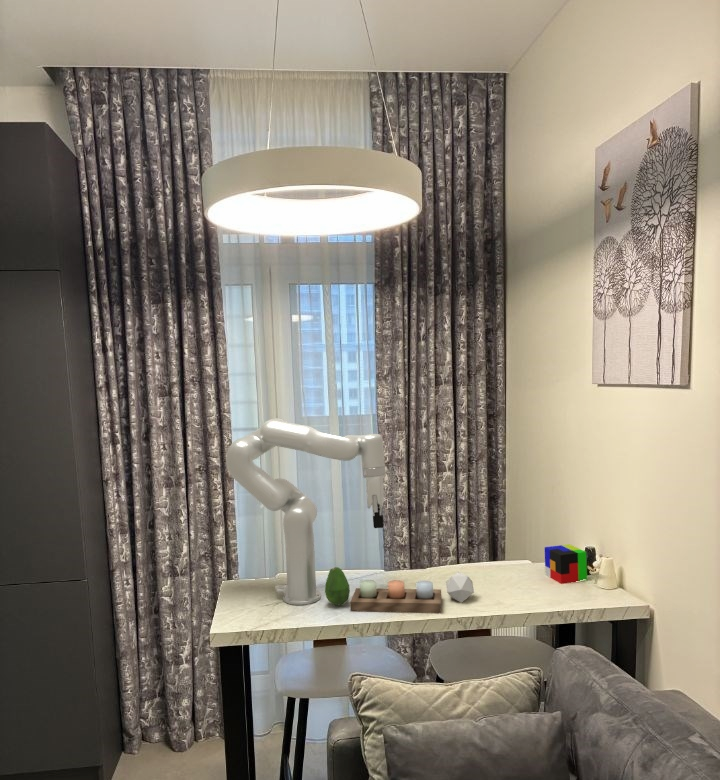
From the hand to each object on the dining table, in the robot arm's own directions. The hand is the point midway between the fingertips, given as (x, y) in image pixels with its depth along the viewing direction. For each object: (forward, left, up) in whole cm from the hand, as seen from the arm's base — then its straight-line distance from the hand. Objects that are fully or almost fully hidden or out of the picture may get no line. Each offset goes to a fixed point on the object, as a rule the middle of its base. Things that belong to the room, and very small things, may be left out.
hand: (378, 527), depth 194 cm
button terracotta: (+6, -6, -20) cm, 22 cm away
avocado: (-13, -7, -24) cm, 28 cm away
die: (+26, 0, -24) cm, 35 cm away
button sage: (-3, -6, -20) cm, 21 cm away
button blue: (+15, -6, -20) cm, 26 cm away
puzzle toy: (+63, +22, -24) cm, 70 cm away
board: (+6, -6, -23) cm, 25 cm away
